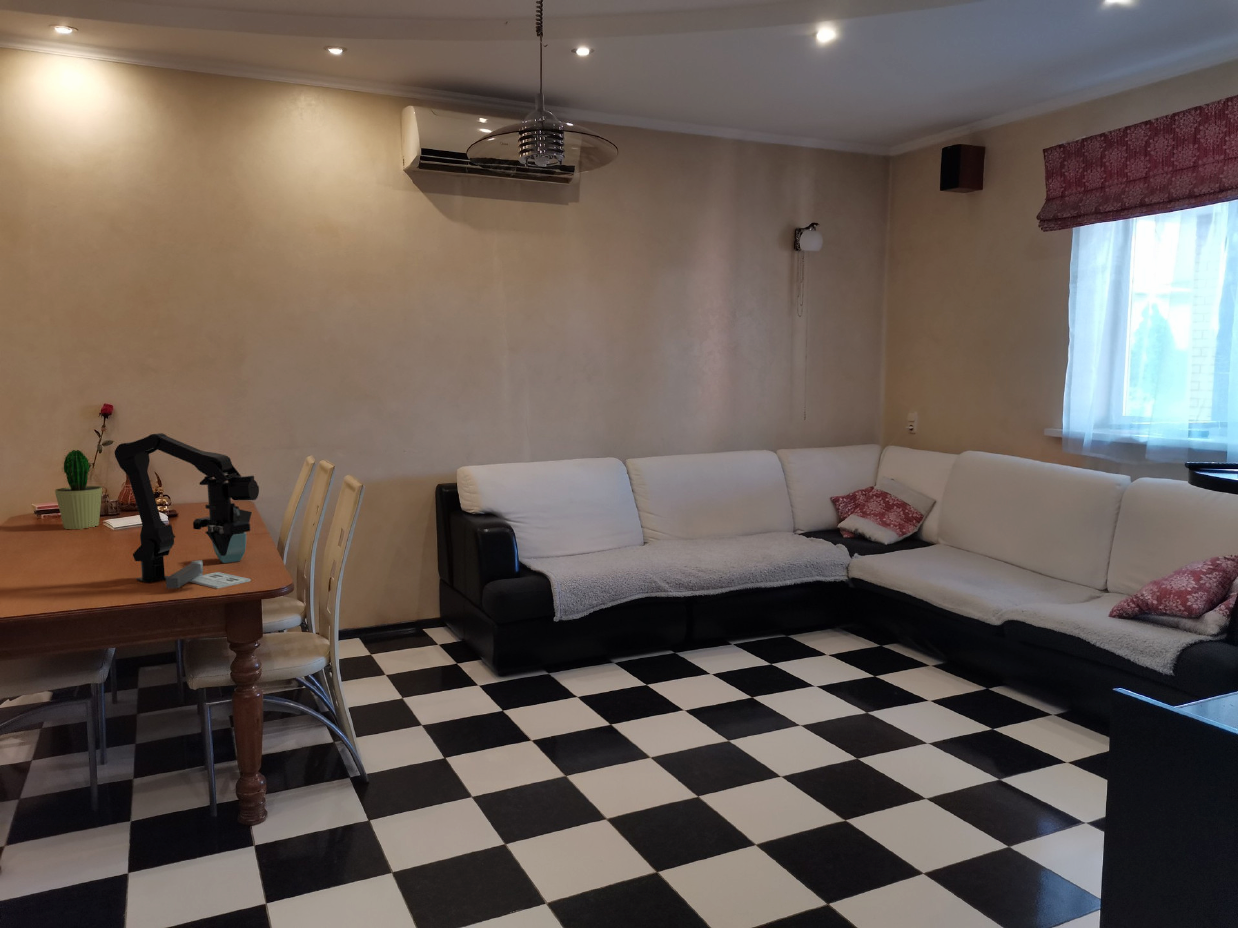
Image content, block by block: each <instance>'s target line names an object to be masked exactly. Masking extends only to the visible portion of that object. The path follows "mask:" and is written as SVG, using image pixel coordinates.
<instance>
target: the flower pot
mask: <svg viewBox="0 0 1238 928" xmlns="http://www.w3.org/2000/svg"><path fill="white" fill-rule="evenodd" d="M211 543H212V547H213V551H214V554H215V555H216V556H217V559H219V561H220V562H221V563H223V564H227V563H228V564H229V563H235V562H240V561H241V560H242V559H243V557H244V555H245V552H246V547H247V532H242V533H237V534H234V535H233V536H232V537H231V540H230V543H229V546H228V550H227V553H226V555H225V556H221V555H220V553H219V552H218V550H217V548H216V547H215V545H214V543H213V542H212V541H211Z"/></svg>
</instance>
